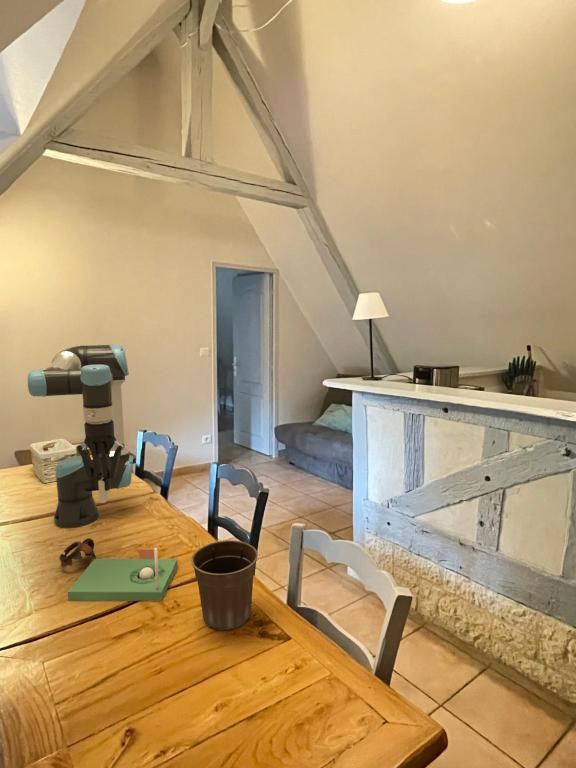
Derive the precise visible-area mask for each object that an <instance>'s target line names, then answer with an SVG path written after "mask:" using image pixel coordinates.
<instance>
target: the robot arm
mask: <svg viewBox="0 0 576 768" xmlns="http://www.w3.org/2000/svg"><path fill="white" fill-rule="evenodd" d="M129 374H130V372H129V367H128V361H127V357H126V351H125V348H124V346H122V345H119V344H118V345H117V344H100V345H99V344H97V345H96V344H95V345H93V344H92V345H76V346H71V347H68V348H65V349H63V350H62V351H59V352H58V353H56V354H55V355H54V356H53V358H52V359H51V362H50V364H49V365H48V366H47V367H46V368H45V369H37V370H36V369H34V370H31V371H29V372H28V375H27V389H28V392H29V395H31V396H32V397H43V398H45V397H55V396H75V395H82V407H83V419H84V422H85V423H84V434H85V438H84V440H83V442H82V443H80V444H78V445H77V446H75V447H76V451H77V452H78V453H79V454H80V455H76V456H74V457H71V458H68V459H65V460H63V461H61V462H60V463H58V464H57V466H56V480H57V481H56V488H57V489H56V490H57V505H56V509H55V512H54V517H53V518H54V519H53V520H54V521H53V522H54V525H55V526H56V527H58V528H65V529H70V528H79V527H84V526H87V525H89V524H91V523H94V522H95V521H96V520H98V518H99V516H100V513H99V508H98V506H97V503H96V501H95V499H94V497H93V492H95V491H97V492H98V497H99V503H101V504H105V503H106V502H107V501H108V500H109V491H110V490H115V489H118V490H119V489H123V488H127V487H129V486H130V485H132V476H133V462H134V456H133V455H130V451H129V450H128V449H127V448H125V435H124V434H125V433H124V431H125V430H124V415H123V414H124V413H123V412H124V411H123V396H122V385H123V383H124V382H126V377H127V376H129ZM89 451H91V455H90V452H89Z"/></svg>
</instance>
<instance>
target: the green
mask: <svg viewBox="0 0 576 768" xmlns="http://www.w3.org/2000/svg"><path fill="white" fill-rule="evenodd" d="M178 561H179V560H178V558H158V576H159V589H158V590H156V579H155V559H139V558H97V559H94V560H93V562H92V563H91V564H90V563H89V565H88V566H87V568H86V569H85V570H84V571H83V573H82V574H81V575H80V576H79V577H78V578H77V580H76V581H75V582H74V583H73V585H72V586H71V587H70V588H69V590H68V591H67V599H68V601H70V602H71V601H73V602H75V601H77V602H78V601H79V602H80V601H85V602H86V601H90V602H91V601H92V602H93V601H94V602H95V601H98V602H99V601H106V602H107V601H114V602H115V601H118V602H122V601H123V602H124V601H127V602H128V601H130V602H131V601H132V602H133V601H136V602H140V601H141V602H142V601H143V602H144V601H145V602H147V601H149V600H151V601H152V602H156V600H157V602H162V601H163V600H164V597H165V595H166V593H167V591H168V588H169V587H170V584H171V583H172V580H173V578H174V575H175V573H176V572H177V569H178V567H179V565H178V564H179V562H178ZM146 567H149V568H151V569H152V570H153V571H154V577H153V578H151V579H148V580H141V579H140V577H139V574H140V572H141V570H142V569H143V568H146ZM168 586H169V587H168ZM162 599H163V600H162ZM153 600H154V601H153ZM151 601H149V602H151Z"/></svg>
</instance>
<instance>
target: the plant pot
mask: <svg viewBox="0 0 576 768" xmlns="http://www.w3.org/2000/svg"><path fill="white" fill-rule="evenodd" d="M258 555H259V554H258V550H257V549H256V548H255V547H254V546H253V545H251V544H249V543H248V542H246V541H241V540H231V539H228V540H220V541H214V542H211V543H208V544H205V545H203V546H201V547H200V548H198V549H197V550H195V552H194V553H193V554H192V555H191V559H190V560H191V561H190V562H191V566H192V568H193V571H194V575H195V578H196V581H197V586H198V587H197V588H198V592H199V600H200V606H201V614H202V619H203V622H204V624H205V626H207V627H208V628H213V629H215V630H216V631H230V630H235V629H238V628H240V627H242V626H243V625H245V623H246V622H247V620H249V619H250V618H251V615H252V606H253V605H252V601H253V585H254V574H255V572H256V565H257V564H256V563H257V560H258Z"/></svg>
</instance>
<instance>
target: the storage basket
mask: <svg viewBox="0 0 576 768" xmlns="http://www.w3.org/2000/svg"><path fill="white" fill-rule="evenodd" d="M51 447H52V448H51ZM76 447H77V446H74V445H73V444H72V443H70V441H68V440H66V439H65V438H59V439H52V440H51V439H50V440H47V441H39V442H34V443H31V444H29V451H30V452H31V453H30V454H31V463H32V468H33V473H34V474H35V476H36V477H37V478H38V479H39V480H40V481H41V482H42V483H44V484H48V483H52V482H57V480H56V466H57V464H58V463H60V462H61V461H63V460H65V459H68V458H71V457H74V456H77V454H78V453H77V452H78V450H77V449H76ZM44 448H49V449H48V450H44Z"/></svg>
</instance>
